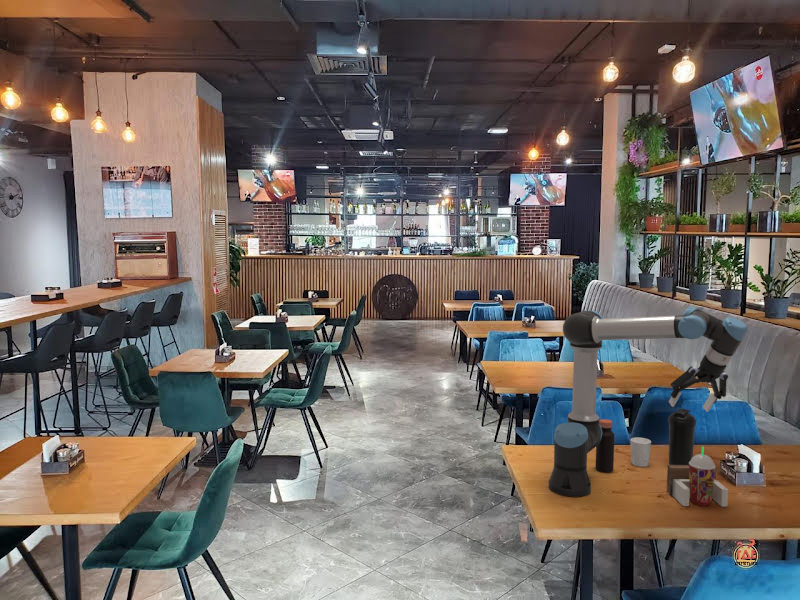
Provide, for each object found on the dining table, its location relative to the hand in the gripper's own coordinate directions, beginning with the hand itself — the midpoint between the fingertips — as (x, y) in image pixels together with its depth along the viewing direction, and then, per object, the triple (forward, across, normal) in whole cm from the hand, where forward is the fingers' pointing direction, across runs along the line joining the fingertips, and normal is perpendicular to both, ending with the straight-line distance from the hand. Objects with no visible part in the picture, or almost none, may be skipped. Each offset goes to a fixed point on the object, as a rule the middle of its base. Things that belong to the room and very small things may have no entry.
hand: (688, 406), depth 218 cm
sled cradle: (+25, +6, -21) cm, 33 cm away
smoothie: (+24, +6, -22) cm, 33 cm away
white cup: (+41, +4, +12) cm, 43 cm away
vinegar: (+42, -13, +7) cm, 45 cm away
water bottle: (+37, +19, +10) cm, 43 cm away
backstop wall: (+27, +7, -14) cm, 32 cm away
